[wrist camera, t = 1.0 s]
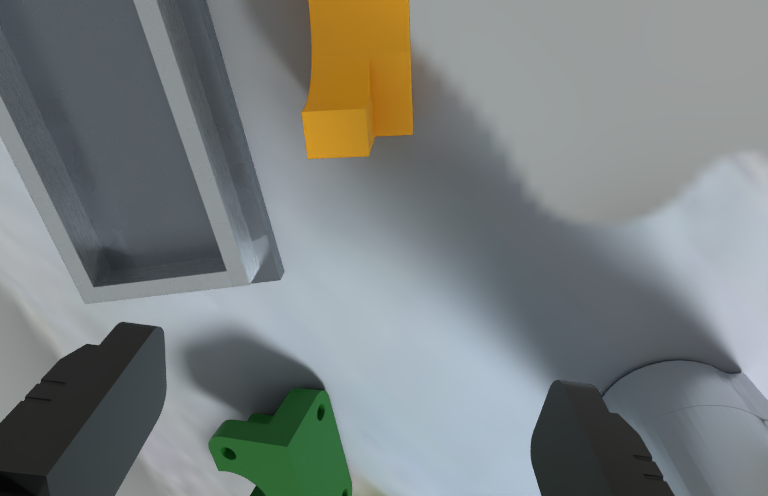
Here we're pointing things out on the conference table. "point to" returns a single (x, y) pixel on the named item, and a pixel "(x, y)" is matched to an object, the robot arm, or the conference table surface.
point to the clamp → (287, 448)
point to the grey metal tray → (133, 146)
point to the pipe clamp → (357, 76)
